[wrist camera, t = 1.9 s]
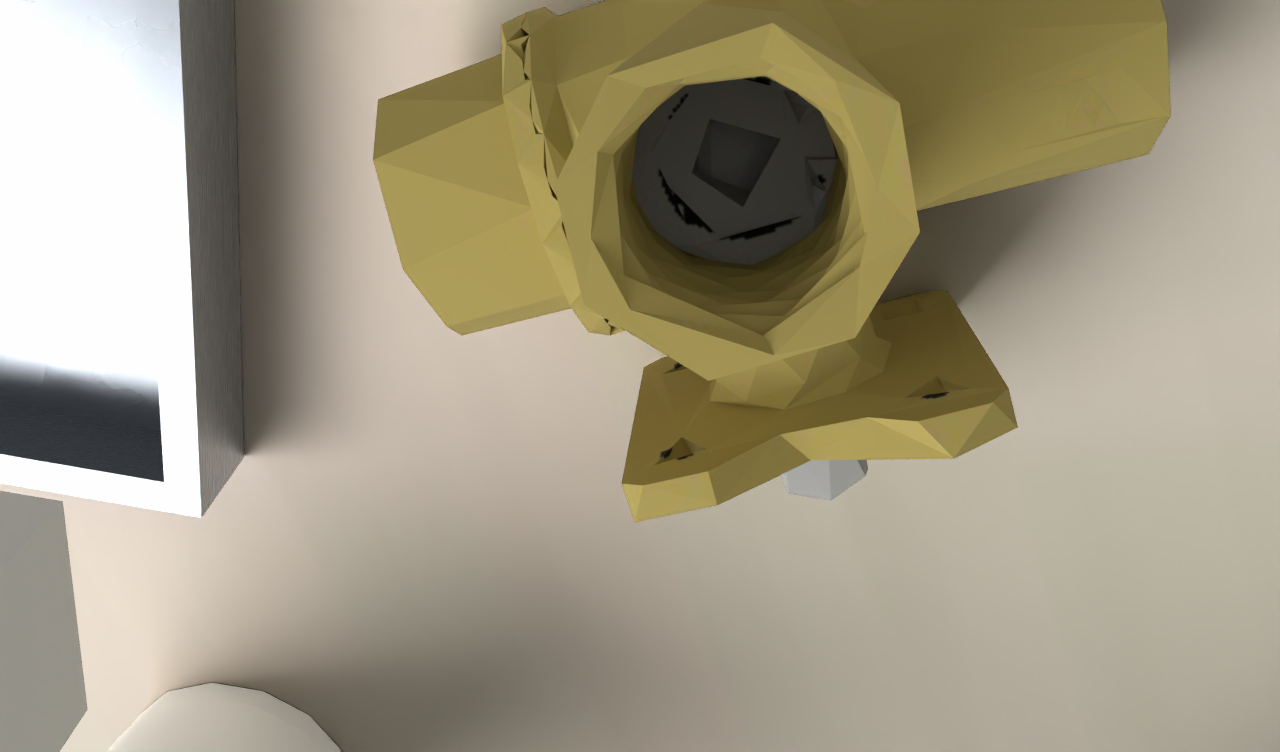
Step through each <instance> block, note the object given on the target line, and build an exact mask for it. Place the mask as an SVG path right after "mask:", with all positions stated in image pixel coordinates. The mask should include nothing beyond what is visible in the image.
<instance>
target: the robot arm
mask: <svg viewBox="0 0 1280 752" xmlns="http://www.w3.org/2000/svg"><path fill="white" fill-rule="evenodd" d="M86 711H87V701H86V693H85V685H84V676H83V668H82V660H81V651H80V643H79V634H78V626H77V618H76V609H75V601H74V592H73V584H72V576H71V567H70V559H69V551H68V542H67V534H66V525H65V517H64V509H63V501H57V500H51V499H45V498H39V497H33V496H27V495H21V494H16V493H10V492H4V491H0V752H60V750H61V749H62V747H63V746H64V744H65V743H66V741H67V740H68V738H69V737H70V735H71V734H72V732H73V730H74V729H75V727H76V726H77V724H78V723H79V721H80V720H81V718H82V717H83V715H84V714H85V712H86Z"/></svg>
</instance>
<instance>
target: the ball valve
mask: <svg viewBox="0 0 1280 752" xmlns="http://www.w3.org/2000/svg"><path fill="white" fill-rule="evenodd" d="M501 33H502V54H501V55H498V56H495V57H493V58H490V59H487V60H485V61H482V62H479V63H476V64H474V65H471V66H468V67H465V68H463V69H460V70H457V71H455V72H452V73H449V74H446V75H444V76H441V77H438V78H435V79H433V80H430V81H427V82H425V83H422V84H419V85H416V86H414V87H411V88H408V89H405V90H403V91H400V92H397V93H395V94H392V95H389V96H386V97H384V98H381V99H378V107H377V119H376V131H375V143H374V155H373V161H374V165H375V169H376V172H377V176H378V180H379V183H380V187H381V190H382V194H383V198H384V201H385V205H386V209H387V212H388V216H389V220H390V223H391V227H392V231H393V234H394V238H395V242H396V245H397V249H398V253H399V256H400V260H401V264H402V267H403V270H404V271H405V273H406V274H407V275H408V277H409V278H410V279H411V281H412V282H413V283H414V284H415V286H416V287H417V288H418V290H419V291H420V292H421V294H422V295H423V296H424V297H425V299H426V300H427V301H428V303H429V304H430V305H431V307H432V308H433V309H434V310H435V312H436V313H437V314H438V316H439V317H440V318H441V320H442V321H443V322H444V323H445V325H446V326H447V327H449V328H450V329H452V330H454V331H455V332H457V333H459V334H460V335H466V334H470V333H474V332H478V331H482V330H486V329H490V328H494V327H498V326H502V325H506V324H510V323H514V322H518V321H522V320H526V319H530V318H534V317H538V316H542V315H546V314H550V313H554V312H558V311H562V310H566V309H570V308H572V309H573V311H574V312H575V314H576V315H577V316H578V318H579V319H580V321H581V322H582V324H583V325H584V326H585V328H586V329H587V331H588V332H591V333H598V334H604V335H613V334H616V333H619V332H622V331H625V330H626V331H628V332H629V333H631V334H633V335H634V336H636V337H637V338H639V339H641V340H642V341H644V342H646V343H647V344H649V345H651V346H652V347H654V348H655V349H657V350H659V351H660V352H662V353H664V354H665V355H667V356H668V357H664V358H661V359H659V360H657V361H655V362H653V363H651V364H649V365H648V366H646V367H644V370H643V375H642V380H641V386H640V391H639V396H638V401H637V406H636V412H635V417H634V422H633V427H632V432H631V438H630V443H629V448H628V453H627V458H626V464H625V469H624V474H623V479H622V486H623V489H624V492H625V495H626V498H627V501H628V504H629V507H630V510H631V513H632V516H633V519H634V521H635V522H639V521H643V520H648V519H653V518H658V517H663V516H668V515H672V514H677V513H682V512H687V511H692V510H697V509H701V508H706V507H711V506H716V505H719V504H721V503H723V502H725V501H727V500H729V499H731V498H733V497H735V496H738V495H740V494H742V493H744V492H746V491H748V490H750V489H752V488H754V487H756V486H758V485H761V484H763V483H765V482H767V481H769V480H771V479H773V478H775V477H777V476H779V475H781V478H782V480H783V482H784V485H785V487H786V489H787V491H788V493H789V494H795V495H801V496H807V497H814V498H820V499H826V500H832V499H833V498H835V497H836V496H838V495H839V494H841V493H842V492H843V491H845V490H846V489H848V488H849V487H850V486H852V485H853V484H855V483H856V482H857V481H859V480H860V479H862V478H863V477H864V476H866V473H867V470H868V466H867V461H866V460H875V459H945V458H956V457H958V456H960V455H962V454H964V453H966V452H968V451H970V450H972V449H974V448H976V447H978V446H980V445H982V444H984V443H987V442H989V441H991V440H993V439H995V438H997V437H999V436H1001V435H1003V434H1005V433H1007V432H1009V431H1011V430H1013V429H1015V428H1017V427H1018V426H1017V422H1016V418H1015V414H1014V410H1013V405H1012V401H1011V397H1010V393H1009V389H1008V387H1007V385H1006V383H1005V382H1004V380H1003V379H1002V377H1001V375H1000V374H999V372H998V371H997V369H996V367H995V366H994V364H993V363H992V361H991V359H990V358H989V356H988V355H987V353H986V351H985V350H984V348H983V347H982V345H981V343H980V342H979V340H978V339H977V337H976V335H975V334H974V332H973V331H972V329H971V327H970V326H969V324H968V323H967V321H966V319H965V318H964V316H963V315H962V313H961V311H960V310H959V308H958V307H957V305H956V303H955V302H954V300H953V299H952V297H951V295H950V294H949V292H948V291H938V290H934V291H929V292H925V293H921V294H917V295H913V296H908V297H904V298H900V299H896V300H892V301H887V302H883V303H879V304H876V303H877V301H878V300H879V298H880V297H881V295H882V293H883V292H884V290H885V288H886V287H887V285H888V284H889V282H890V280H891V279H892V277H893V275H894V274H895V272H896V271H897V269H898V267H899V266H900V264H901V262H902V261H903V259H904V258H905V256H906V254H907V253H908V251H909V249H910V248H911V246H912V245H913V243H914V241H915V240H916V238H917V236H918V235H919V233H920V229H919V222H918V216H917V211H918V210H922V209H926V208H931V207H935V206H939V205H943V204H948V203H952V202H956V201H960V200H965V199H969V198H973V197H977V196H981V195H985V194H989V193H993V192H997V191H1001V190H1005V189H1009V188H1013V187H1017V186H1021V185H1026V184H1030V183H1034V182H1038V181H1042V180H1046V179H1050V178H1054V177H1058V176H1062V175H1066V174H1070V173H1074V172H1078V171H1082V170H1086V169H1090V168H1094V167H1099V166H1103V165H1107V164H1111V163H1115V162H1119V161H1123V160H1127V159H1131V158H1135V157H1139V156H1143V155H1147V154H1149V152H1150V151H1151V149H1152V147H1153V145H1154V144H1155V142H1156V140H1157V138H1158V137H1159V135H1160V133H1161V131H1162V130H1163V128H1164V126H1165V124H1166V123H1167V121H1168V119H1169V118H1170V116H1171V110H1170V87H1169V63H1168V39H1167V20H1166V17H1165V13H1164V10H1163V7H1162V3H1161V0H607V1H604V2H601V3H598V4H594V5H591V6H588V7H585V8H582V9H579V10H576V11H573V12H570V13H567V14H564V15H561V16H557V15H555V14H554V13H552V12H551V11H550V10H548V9H547V8H545V7H543V8H540V9H537V10H534V11H531V12H527V13H525V14H523V15H521V16H519V17H516V18H514V19H512V20H510V21H508V22H506V23H504V24H502V25H501Z"/></svg>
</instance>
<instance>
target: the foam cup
mask: <svg viewBox="0 0 1280 752" xmlns="http://www.w3.org/2000/svg"><path fill="white" fill-rule="evenodd" d="M107 752H341V750H340V749H339V747H338V746H337V745H336V744H335V743H334V742H333V741H332V740H331V739H330V738H329V737H328V735H327V734H326V733H325V732H324V731H323V730H322V729H321V728H320V727H319V726H318V724H317V723H316V722H315V721H314V720H313V719H312V718H311V717H310V716H309V715H308V714H306V713H304V712H302V711H300V710H298V709H296V708H294V707H292V706H290V705H288V704H286V703H285V702H283V701H281V700H279V699H277V698H275V697H273V696H271V695H269V694H267V693H265V692H264V691H259V690H253V689H247V688H241V687H235V686H229V685H223V684H217V683H208V684H203V685H198V686H193V687H187V688H182V689H177V690H172V691H167V692H166V693H165V694H164V695H162V696H161V697H160V698H159V699H158V700H156V701H155V702H154V703H153V704H152V705H150V706H149V707H148V708H147V709H146V710H144V711H143V712H142V713H141V714H140V715H138V717H137V718H136V720H135V722H134V723H133V724H132V725H131V726H130V727H129V728H127V729H126V730H125V731H124V732H123V733H122V734H121V735H120V737H119V738H118V739H117V740H116V741H115V742H114V744H113V745H112V746H111V747H110V748H109V749H108V751H107Z"/></svg>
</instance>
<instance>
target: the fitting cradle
mask: <svg viewBox="0 0 1280 752" xmlns="http://www.w3.org/2000/svg"><path fill="white" fill-rule="evenodd" d="M243 458H244V440H243V394H242V348H241V302H240V256H239V210H238V164H237V117H236V71H235V25H234V0H0V483H2V484H8V485H14V486H19V487H25V488H31V489H37V490H43V491H48V492H54V493H60V494H66V495H72V496H77V497H83V498H89V499H95V500H101V501H106V502H112V503H118V504H124V505H130V506H135V507H141V508H147V509H153V510H159V511H164V512H170V513H176V514H182V515H188V516H193V517H199V518H202V516H203V515H204V513H205V512H206V511H207V509H208V508H209V506H210V505H211V503H212V502H213V501H214V499H215V498H216V496H217V495H218V494H219V492H220V491H221V489H222V488H223V486H224V485H225V484H226V482H227V481H228V479H229V478H230V476H231V475H232V474H233V472H234V471H235V469H236V468H237V466H238V465H239V464H240V462H241V461H242V459H243Z"/></svg>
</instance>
